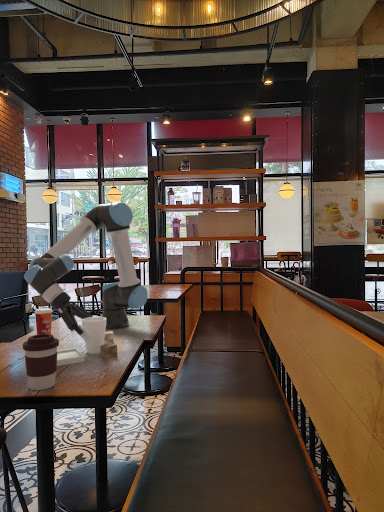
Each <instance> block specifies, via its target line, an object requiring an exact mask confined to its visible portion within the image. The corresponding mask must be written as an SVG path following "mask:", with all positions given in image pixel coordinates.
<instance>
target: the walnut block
mask: <svg viewBox="0 0 384 512" xmlns="http://www.w3.org/2000/svg"><path fill="white" fill-rule="evenodd" d="M99 354H100V356H99V357H100V358H102V359H105V360H110V359H113V358H117V357H118V344H115V343H113V344H112V343H109V344H104V345H100V353H99Z"/></svg>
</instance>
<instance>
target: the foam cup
mask: <svg viewBox="0 0 384 512" xmlns="http://www.w3.org/2000/svg"><path fill="white" fill-rule="evenodd" d="M81 326H82V327H83V328H84V329H85V330H86V331H87V332H88V333H89V334H90V335H91V336H92V337H91V338H90V339H89V340H88V341H87V342H86V341H85V340H84V342H85V348H86V353H87V354H91V355H95V354H96V355H97V354H100V345H104V338H105V332H106V329H107V328H106V318H105V317H102V316H93V317H89V318H85V319H81Z"/></svg>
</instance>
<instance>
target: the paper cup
mask: <svg viewBox="0 0 384 512" xmlns="http://www.w3.org/2000/svg"><path fill="white" fill-rule="evenodd" d="M34 310H35V311H34V314H35V316H34V317H35V327H36V335H38V334H51V335H52V321H53V320H52V319H53V309H52V308H50V307H46V308H45V307H43V308H37V309H34Z"/></svg>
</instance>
